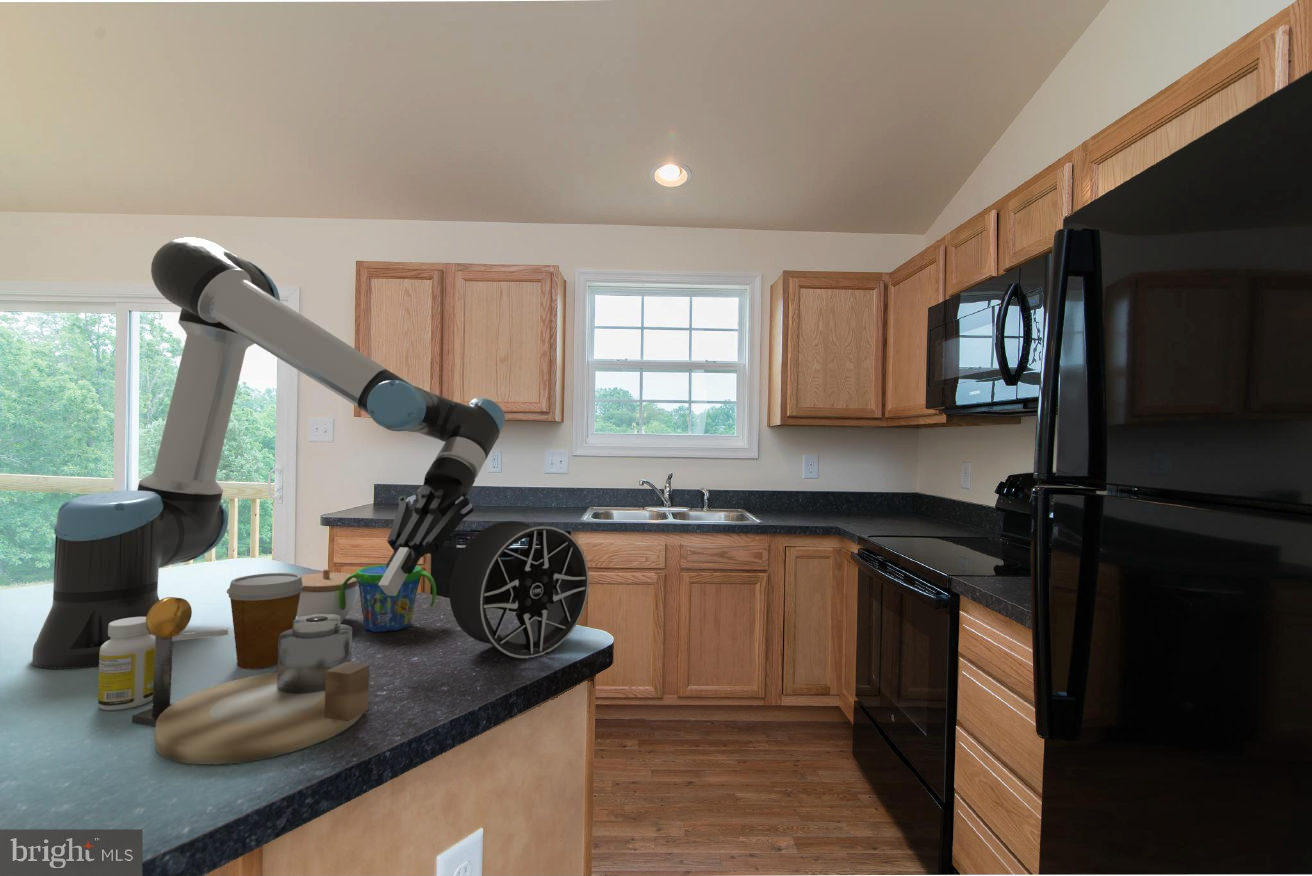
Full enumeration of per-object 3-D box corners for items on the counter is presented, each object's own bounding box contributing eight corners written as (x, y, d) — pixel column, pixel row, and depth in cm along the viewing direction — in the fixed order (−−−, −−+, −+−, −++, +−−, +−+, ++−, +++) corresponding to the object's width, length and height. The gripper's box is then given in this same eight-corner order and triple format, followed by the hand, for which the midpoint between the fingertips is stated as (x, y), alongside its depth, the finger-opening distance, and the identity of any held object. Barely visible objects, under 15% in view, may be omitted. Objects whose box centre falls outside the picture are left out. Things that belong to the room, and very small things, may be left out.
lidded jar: (337, 610, 116) (339, 561, 116) (369, 622, 110) (372, 570, 110) (276, 622, 107) (279, 569, 107) (308, 636, 101) (311, 579, 101)
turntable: (104, 746, 62) (107, 677, 62) (272, 678, 82) (275, 625, 82) (279, 781, 57) (282, 705, 57) (415, 698, 76) (417, 642, 76)
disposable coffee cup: (283, 647, 95) (286, 569, 95) (313, 660, 89) (316, 578, 90) (212, 663, 87) (215, 579, 87) (240, 679, 82) (243, 589, 82)
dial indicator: (127, 724, 68) (133, 600, 68) (188, 700, 74) (193, 587, 75) (169, 731, 66) (175, 605, 67) (227, 706, 73) (232, 591, 73)
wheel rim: (477, 672, 86) (482, 530, 87) (446, 656, 93) (450, 524, 93) (587, 643, 101) (590, 521, 101) (553, 631, 107) (557, 516, 107)
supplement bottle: (145, 690, 77) (148, 612, 77) (164, 700, 74) (168, 619, 75) (89, 705, 73) (93, 622, 73) (107, 716, 70) (111, 629, 70)
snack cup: (441, 618, 113) (442, 562, 113) (426, 635, 102) (428, 573, 102) (352, 620, 111) (354, 563, 111) (328, 637, 100) (330, 575, 101)
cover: (260, 688, 73) (263, 623, 73) (313, 666, 81) (315, 608, 81) (315, 697, 71) (318, 630, 71) (364, 673, 79) (367, 613, 79)
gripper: (497, 486, 105) (437, 607, 88) (430, 484, 108) (361, 601, 91) (481, 455, 100) (415, 578, 83) (412, 454, 103) (335, 572, 86)
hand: (387, 590), depth 87 cm, fingers closed
